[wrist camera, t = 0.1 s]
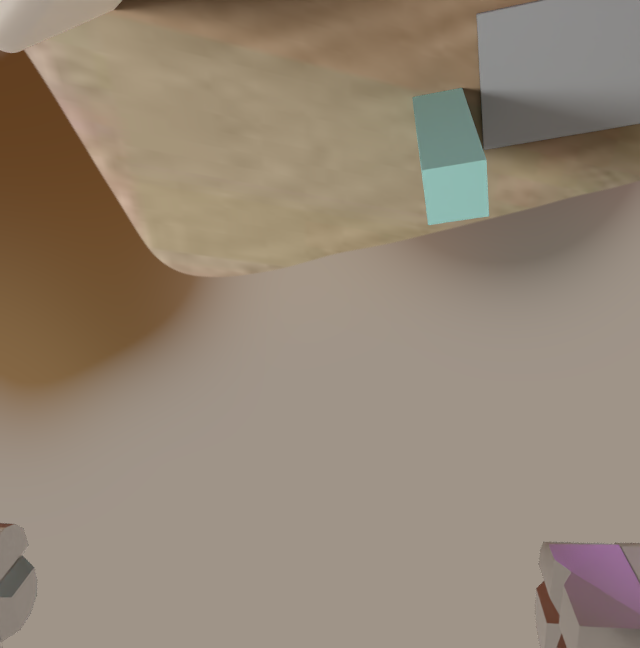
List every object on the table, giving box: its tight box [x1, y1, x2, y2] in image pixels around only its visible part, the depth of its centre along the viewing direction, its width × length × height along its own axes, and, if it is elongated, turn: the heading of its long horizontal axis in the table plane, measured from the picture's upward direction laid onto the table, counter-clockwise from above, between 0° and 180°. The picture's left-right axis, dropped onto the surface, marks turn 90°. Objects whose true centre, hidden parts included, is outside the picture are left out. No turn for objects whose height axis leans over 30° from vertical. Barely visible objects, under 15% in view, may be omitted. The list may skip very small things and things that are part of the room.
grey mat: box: [477, 0, 640, 150], centre depth 52 cm, size 18×12×1 cm, turn 102°
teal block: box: [413, 88, 489, 225], centre depth 50 cm, size 4×4×16 cm
